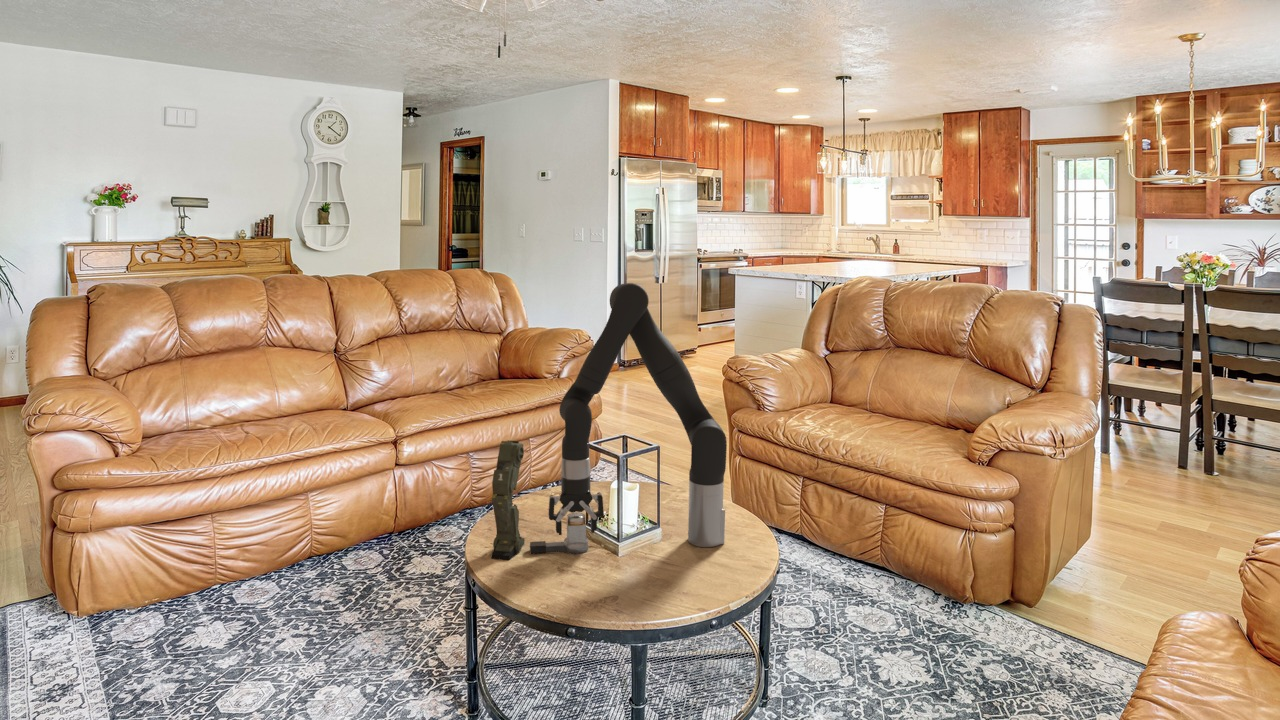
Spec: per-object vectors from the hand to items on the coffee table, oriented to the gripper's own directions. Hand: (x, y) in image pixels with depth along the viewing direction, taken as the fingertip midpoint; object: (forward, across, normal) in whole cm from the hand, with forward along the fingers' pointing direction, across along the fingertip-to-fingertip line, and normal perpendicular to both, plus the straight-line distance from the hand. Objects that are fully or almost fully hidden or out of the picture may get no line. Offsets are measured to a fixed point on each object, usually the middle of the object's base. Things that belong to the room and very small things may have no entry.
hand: (576, 532), depth 198 cm
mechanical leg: (+5, +18, -2) cm, 18 cm away
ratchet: (+4, +4, 0) cm, 6 cm away
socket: (+2, 0, 0) cm, 2 cm away
